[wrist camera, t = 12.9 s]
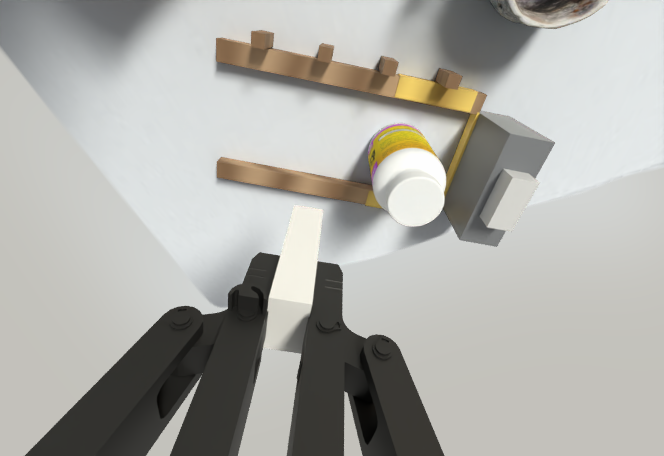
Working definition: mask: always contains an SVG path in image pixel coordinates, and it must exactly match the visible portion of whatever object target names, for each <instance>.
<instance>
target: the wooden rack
mask: <svg viewBox="0 0 664 456" xmlns="http://www.w3.org/2000/svg"><path fill="white" fill-rule="evenodd" d="M273 38H274V33H272V32H267V31H262V30H260V31H252V32H251V44H249V43H244V42H240V41H235V40H230V39H225V38H216V61H217V62H222V63H226V64H231V65H236V66H241V67H246V68H251V69H256V70H261V71H265V72H270V73H275V74H280V75H285V76H290V77H295V78H300V79H304V80H309V81H314V82H319V83H324V84H329V85H334V86H339V87H343V88H348V89H353V90H358V91H363V92H368V93H373V94H378V95H383V96H387V97H392V98H397V99H402V100H407V101H412V102H417V103H422V104H426V105H431V106H436V107H441V108H446V109H451V110H456V111H461V112H465V113H470V114H475V115H476V114H477V112H478V113H480V111H481V108H482V106H483V103H484V101H485V98H486V96H487V95H486V94H484V93H482V92H478V91H475V90H473V89H469V88H464V87H459V84H460V82H461V79H462V76H461V75H459V74H457V73H455V72H452V71H450V70H445V69H441V68H439V70H438V74H437V77H436V80H435V81H436V82H435V81H431V80H426V79H421V78H416V77H412V76H407V75H402V74H398V75H397V74H396V70H397V66H398V62H397V61H396V60H395V59H393V58H389V57H384V56H381V60H380V64H379V68H378V69H379V71H378V70H373V69H368V68H363V67H359V66H354V65H349V64H344V63H340V62H335V61H332V56H333V50H334V46H333V45H328V44H323V43H322V44H321V45H320V46H319V52H318V58H316V57H311V56H306V55H301V54H297V53H292V52H287V51H282V50H278V49H273V48H271V47H273ZM217 178H223V179H228V180H234V181H239V182H245V183H250V184H256V185H261V186H267V187H272V188H278V189H283V190H289V191H294V192H300V193H305V194H311V195H316V196H322V197H327V198H333V199H338V200H344V201H349V202H355V203H360V204H365V206H371V207H376V208H382V207H381V206H380V205H379V203H378V202H377V200H376V198H375V195H374V192H373V186H372V185H368V184H363V183H358V182H352V181H347V180H342V179H336V178H331V177H325V176H320V175H315V174H309V173H304V172H299V171H293V170H288V169H282V168H277V167H272V166H266V165H261V164H256V163H250V162H245V161H240V160H234V159H229V158H223V157H221V158H220V159H219V160H218V161H217ZM382 209H383V208H382Z"/></svg>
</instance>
